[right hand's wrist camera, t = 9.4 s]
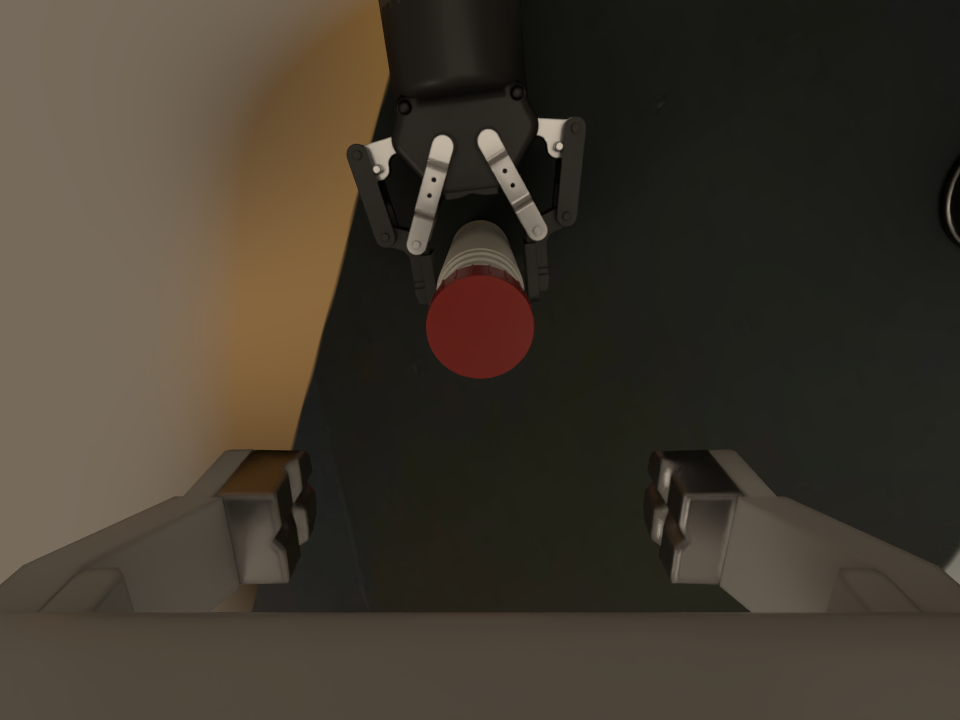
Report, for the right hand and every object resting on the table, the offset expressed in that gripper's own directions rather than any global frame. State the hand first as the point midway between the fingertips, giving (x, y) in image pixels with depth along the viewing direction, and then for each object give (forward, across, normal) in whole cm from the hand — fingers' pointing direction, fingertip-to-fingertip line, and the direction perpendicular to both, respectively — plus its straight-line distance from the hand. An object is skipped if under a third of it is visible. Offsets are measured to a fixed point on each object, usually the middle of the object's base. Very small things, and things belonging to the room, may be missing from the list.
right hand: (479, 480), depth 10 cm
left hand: (+24, 0, -2) cm, 24 cm away
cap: (+10, 0, 0) cm, 10 cm away
